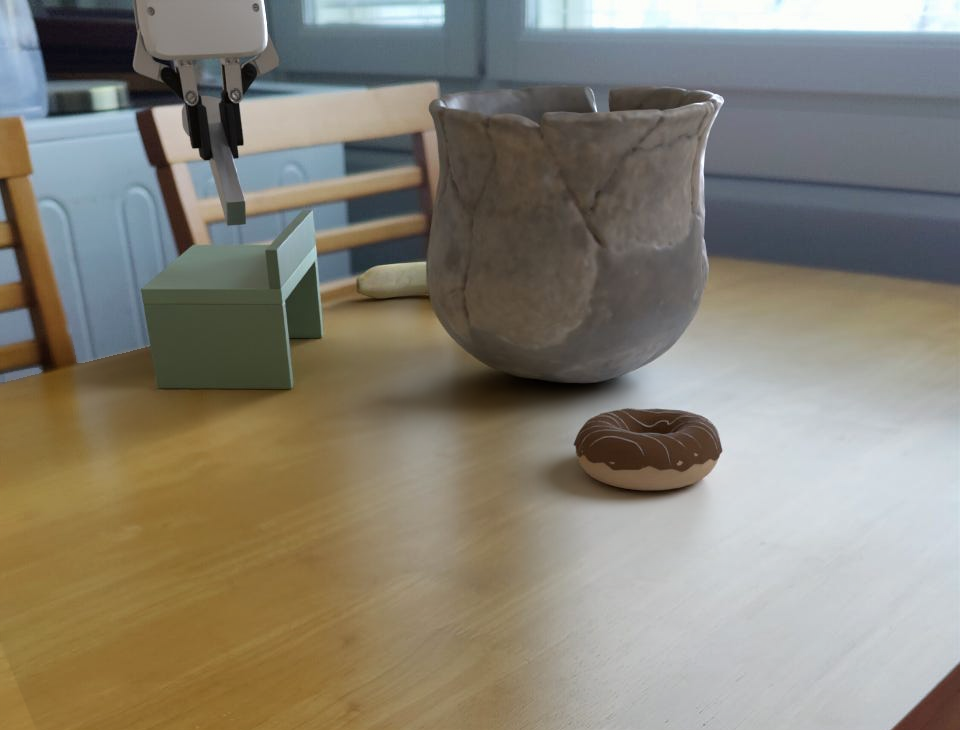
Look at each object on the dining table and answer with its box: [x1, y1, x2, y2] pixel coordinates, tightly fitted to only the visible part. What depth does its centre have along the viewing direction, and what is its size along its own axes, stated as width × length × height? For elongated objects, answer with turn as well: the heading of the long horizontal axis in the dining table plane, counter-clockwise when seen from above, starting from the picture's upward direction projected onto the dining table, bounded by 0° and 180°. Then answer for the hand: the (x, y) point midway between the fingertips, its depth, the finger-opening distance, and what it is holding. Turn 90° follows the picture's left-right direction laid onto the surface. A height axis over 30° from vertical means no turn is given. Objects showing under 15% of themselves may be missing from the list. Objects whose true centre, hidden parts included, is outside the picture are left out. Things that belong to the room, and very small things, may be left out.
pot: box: [425, 85, 725, 384], centre depth 103 cm, size 25×24×21 cm
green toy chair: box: [140, 209, 325, 390], centre depth 110 cm, size 12×18×11 cm, turn 177°
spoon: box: [181, 95, 247, 227], centre depth 103 cm, size 14×4×2 cm
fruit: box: [355, 261, 430, 299], centre depth 131 cm, size 7×15×3 cm, turn 77°
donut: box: [572, 407, 723, 491], centre depth 88 cm, size 11×11×4 cm
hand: (218, 155), depth 104 cm, fingers closed on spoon, 1 cm apart
